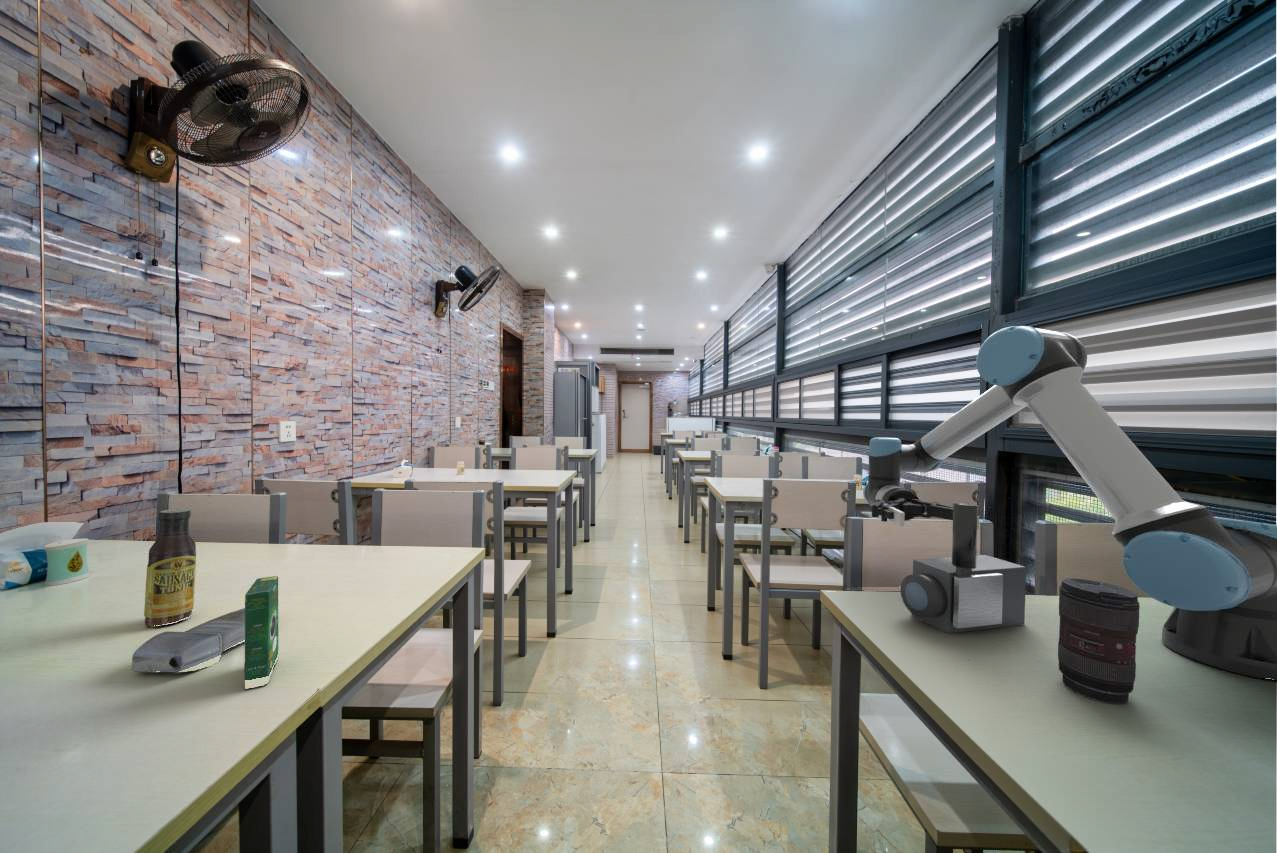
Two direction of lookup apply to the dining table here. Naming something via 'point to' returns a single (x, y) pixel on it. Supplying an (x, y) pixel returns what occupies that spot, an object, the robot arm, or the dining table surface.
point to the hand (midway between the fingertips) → (939, 521)
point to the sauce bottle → (171, 570)
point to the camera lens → (1098, 639)
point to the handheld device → (190, 644)
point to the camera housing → (934, 591)
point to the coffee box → (261, 628)
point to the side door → (972, 593)
